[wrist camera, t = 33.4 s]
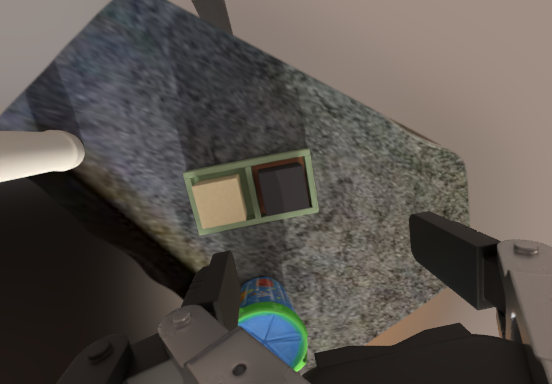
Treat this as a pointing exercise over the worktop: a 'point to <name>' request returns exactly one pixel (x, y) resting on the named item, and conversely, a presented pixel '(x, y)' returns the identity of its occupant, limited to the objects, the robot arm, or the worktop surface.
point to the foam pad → (220, 201)
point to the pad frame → (253, 186)
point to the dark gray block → (283, 188)
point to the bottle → (38, 153)
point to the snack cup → (273, 320)
